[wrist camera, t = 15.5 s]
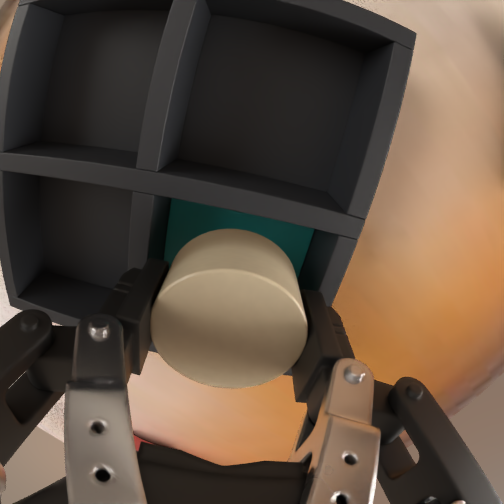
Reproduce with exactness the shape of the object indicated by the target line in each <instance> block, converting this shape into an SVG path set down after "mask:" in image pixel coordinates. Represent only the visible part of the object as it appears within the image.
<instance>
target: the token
mask: <svg viewBox="0 0 504 504" xmlns="http://www.w3.org/2000/svg"><path fill="white" fill-rule="evenodd" d="M150 335H151V339H152V342H153V344H154V346H155V348H156V350H157V352H158V353H159V354H160V356H161V357H162V358H163V360H164V361H165V362H166V363H167V364H168V365H169V366H171V367H172V368H173V369H174V370H176V371H177V372H179V373H180V374H182V375H183V376H185V377H187V378H189V379H191V380H194V381H196V382H198V383H202V384H205V385H209V386H213V387H220V388H246V387H252V386H257V385H261V384H264V383H267V382H269V381H271V380H274V379H276V378H277V377H279V376H281V375H282V374H284V373H285V372H286V371H288V370H289V369H290V368H291V367H292V366H293V365H294V364H295V363H296V362H297V360H298V359H299V358H300V356H301V354H302V352H303V349H304V347H305V345H306V342H307V337H308V325H307V319H306V315H305V311H304V306H303V302H302V298H301V294H300V290H299V286H298V282H297V278H296V273H295V270H294V268H293V265H292V263H291V261H290V259H289V258H288V257H287V255H286V254H285V252H284V251H283V250H282V249H281V248H280V247H279V246H277V245H276V244H275V243H274V242H272V241H271V240H269V239H267V238H266V237H264V236H262V235H259V234H257V233H254V232H251V231H247V230H241V229H218V230H214V231H210V232H207V233H204V234H201V235H199V236H197V237H196V238H194V239H192V240H191V241H189V242H188V243H187V244H186V245H185V246H184V247H183V248H182V249H181V250H180V251H179V252H178V254H177V255H176V256H175V258H174V260H173V262H172V264H171V266H170V268H169V270H168V273H167V275H166V277H165V279H164V281H163V283H162V286H161V288H160V290H159V292H158V294H157V297H156V299H155V301H154V303H153V305H152V309H151V318H150Z"/></svg>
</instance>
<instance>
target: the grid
mask: <svg viewBox="0 0 504 504" xmlns="http://www.w3.org/2000/svg"><path fill="white" fill-rule="evenodd" d="M18 6H19V7H17V10H16V13H15V16H14V19H13V23H12V26H11V30H10V33H9V37H8V41H7V45H6V49H5V53H4V58H3V62H2V67H1V73H0V261H1V266H2V272H3V277H4V281H5V286H6V290H7V294H8V298H9V302H10V305H11V306H12V307H15V308H17V309H20V310H22V311H24V310H29V309H37V310H41V311H43V312H45V313H46V314H48V315H49V317H50V319H51V322H54V323H57V324H60V325H63V326H77V325H78V323H79V321H80V320H81V319H82V318H84V317H86V316H88V315H91V314H96V313H98V312H99V310H100V308H101V307H102V305H103V304H104V302H105V301H106V299H107V297H108V296H109V294H110V293H111V291H112V290H113V288H114V287H115V285H116V284H117V283H118V281H119V279H120V278H121V276H122V275H123V273H125V272H127V271H128V270H130V269H132V268H133V267H134V268H138V269H143V267H144V265H145V264H146V262H147V260H148V259H149V258H154V259H159V260H163V261H168V262H169V268H170V266H171V264H172V262H173V260H174V258H175V256H176V255H177V254H178V252H179V251H180V250H181V249H182V248H183V247H184V246H185V245H186V244H187V243H188V242H189V241H191V240H192V239H194V238H196V237H197V236H199V235H201V234H204V233H207V232H210V231H214V230H218V229H241V230H247V231H251V232H254V233H257V234H259V235H262V236H264V237H266V238H267V239H269V240H271V241H272V242H274V243H275V244H276V245H277V246H279V247H280V248H281V249H282V250H283V251H284V252H285V254H286V255H287V257H288V258H289V259H290V261H291V263H292V265H293V268H294V270H295V273H296V278H297V282H298V286H299V290H300V291H301V290H302V289H306V290H311V291H317V292H321V293H322V294H323V297H324V300H325V303H326V306H328V307H331V305H332V303H333V300H334V298H335V296H336V293H337V291H338V289H339V286H340V284H341V282H342V279H343V277H344V274H345V272H346V270H347V267H348V265H349V262H350V260H351V257H352V255H353V252H354V250H355V247H356V244H357V242H358V240H357V239H359V237H360V234H361V231H362V229H363V226H364V223H365V219H366V218H367V215H368V212H369V209H370V206H371V204H372V201H373V198H374V195H375V192H376V189H377V186H378V183H379V180H380V177H381V174H382V171H383V167H384V164H385V161H386V158H387V154H388V151H389V148H390V144H391V141H392V137H393V134H394V130H395V127H396V123H397V119H398V116H399V112H400V108H401V104H402V100H403V96H404V92H405V88H406V83H407V79H408V75H409V70H410V65H411V61H412V56H413V50H414V45H415V40H416V33H415V32H413V31H411V30H409V29H408V28H406V27H404V26H402V25H400V24H398V23H395V22H393V21H391V20H389V19H387V18H385V17H383V16H380V15H378V14H376V13H374V12H371V11H369V10H366V9H364V8H361V7H359V6H356V5H354V4H351V3H348V2H346V1H343V0H20V2H19V4H18ZM149 351H152V352H156V353H158V352H157V350H156V348H155V346H154V344H153V342H151V345H150V348H149ZM282 375H290V376H292V370H291V368H290V369H289V370H288V371H286V372H285V373H284V374H282Z"/></svg>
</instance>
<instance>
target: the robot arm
mask: <svg viewBox="0 0 504 504" xmlns="http://www.w3.org/2000/svg"><path fill="white" fill-rule="evenodd" d="M168 270H169V262H168V261H163V260H159V259H154V258H149V259H148V260H147V262H146V264H145V265H144V267H143V269H138V268H134V267H133V268H132V269H130V270H128V271H127V272H125V273H123V275H122V276H121V278H120V279H119V281H118V283H117V284H116V285H115V287H114V288H113V290H112V291H111V293H110V294H109V296H108V297H107V299H106V301H105V302H104V304H103V305H102V307H101V308H100V310H99V312H98V313H96V314H91V315H88V316H86V317H84V318H82V319H81V320H80V321H79V323H78V325H77V326H56V325H52V322H51V319H50V317H49V315H48V314H46V313H45V312H43V311H41V310H37V309H29V310H24V311H22V312H20V313H18V314H17V315H15V316H14V317H13V318H11V319H10V320H9V321H8V322H6V323H5V324H4V325H3V326H1V327H0V504H1V494H2V492H3V491H5V489H6V474H5V471H4V468H3V467H4V466H5V464H6V463H7V462H8V461H9V459H10V458H11V457H12V456H13V454H14V453H15V452H16V450H17V449H18V448H19V447H20V445H21V444H22V443H23V442H24V440H25V439H26V438H27V437H28V436H29V434H30V433H31V432H32V431H33V430H34V428H35V427H36V426H37V425H38V424H39V422H40V421H41V420H42V419H43V418H44V416H45V415H46V414H47V413H48V412H49V410H50V409H51V408H52V407H53V406H54V405H55V403H56V402H57V401H58V400H59V399H60V398H61V396H62V395H63V394H64V393H65V406H64V447H65V468H66V477H63V478H62V479H60V480H58V481H56V482H55V483H53V484H51V485H49V486H47V487H45V488H43V489H41V490H39V491H38V492H36V493H34V494H32V495H30V496H28V497H26V498H24V499H21V500H20V501H18V502H15V503H13V504H373V499H374V493H375V486H376V478H377V479H378V481H379V483H380V484H381V486H382V488H383V490H384V492H385V494H386V496H387V498H388V500H389V502H390V504H503V503H502V502H501V500H500V498H499V497H498V495H497V493H496V491H495V490H494V488H493V487H492V485H491V483H490V482H489V480H488V478H487V477H486V475H485V474H484V472H483V470H482V469H481V467H480V466H479V464H478V462H477V461H476V460H475V458H474V456H473V455H472V453H471V452H470V450H469V449H468V447H467V446H466V444H465V443H464V441H463V440H462V438H461V437H460V435H459V434H458V432H457V431H456V429H455V428H454V426H453V425H452V423H451V422H450V421H449V419H448V418H447V416H446V415H445V413H444V412H443V410H442V409H441V408H440V406H439V405H438V403H437V402H436V400H435V399H434V398H433V396H432V395H431V394H430V392H429V391H428V389H427V388H426V387H425V386H424V385H423V384H422V383H421V382H420V381H418V380H417V379H414V378H411V377H402V378H400V379H399V380H398V381H397V382H396V384H395V385H394V386H392V385H389V384H386V383H383V382H379V381H377V380H374V376H373V373H372V372H371V370H370V369H369V368H368V367H367V366H366V365H365V364H364V363H362V362H360V361H358V360H356V359H355V356H354V353H353V351H352V348H351V345H350V342H349V340H348V337H347V335H346V332H345V329H344V327H343V323H342V321H341V318H340V316H339V315H338V314H337V312H336V311H335V310H334V309H333V308H332V307H328V306H326V303H325V300H324V297H323V294H322V293H321V292H317V291H311V290H306V289H302V290H301V291H300V294H301V298H302V302H303V306H304V311H305V315H306V319H307V325H308V337H307V342H306V345H305V347H304V349H303V352H302V354H301V356H300V358H299V359H298V360H297V362H296V363H295V364H294V365H293V366H292V367H291V370H292V377H293V385H294V392H295V400H296V402H303V403H307V410H306V411H305V413H304V415H303V417H302V420H301V424H300V427H299V430H298V433H297V436H296V439H295V442H294V445H293V448H292V451H291V454H290V457H289V459H288V461H287V462H277V461H260V462H254V463H247V464H239V465H230V466H221V465H218V464H215V463H212V462H209V461H207V460H204V459H201V458H199V457H196V456H194V455H191V454H189V453H186V452H184V451H182V450H177V449H172V448H168V447H163V446H159V445H154V444H150V443H146V442H142V441H141V442H140V447H139V451H136V447H135V441H134V435H133V429H132V422H131V415H130V407H129V399H128V390H127V383H128V380H129V378H130V375H131V373H133V374H137V375H140V374H141V371H142V368H143V365H144V362H145V359H146V356H147V354H148V351H149V348H150V345H151V342H152V339H151V335H150V318H151V309H152V305H153V303H154V301H155V299H156V297H157V294H158V292H159V290H160V288H161V286H162V283H163V281H164V279H165V277H166V275H167V273H168ZM25 371H26V372H25ZM24 372H25V373H24ZM23 373H24V374H23ZM22 374H23V375H22ZM21 375H22V376H21ZM20 376H21V377H20ZM19 377H20V378H19ZM18 378H19V379H18ZM17 379H18V380H17ZM16 380H17V381H16ZM15 381H16V382H15ZM14 382H15V383H14ZM13 383H14V384H13ZM12 384H13V385H12ZM11 385H12V386H11ZM10 386H11V387H10ZM9 387H10V388H9ZM8 388H9V389H8ZM404 430H406V432H407V433H408V435H409V437H410V438H411V440H412V441H413V443H414V445H415V446H416V448H417V450H418V452H419V461H418V463H417V464H415V462H414V461H413V459H412V457H411V455H410V454H409V452H408V450H407V449H406V447H405V445H404V443H403V442H402V440H401V438H400V437H399V435H400V434H401V433H402V432H403V431H404Z"/></svg>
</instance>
